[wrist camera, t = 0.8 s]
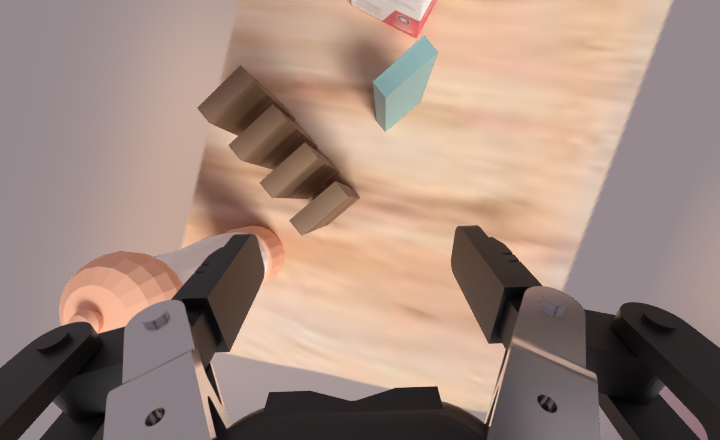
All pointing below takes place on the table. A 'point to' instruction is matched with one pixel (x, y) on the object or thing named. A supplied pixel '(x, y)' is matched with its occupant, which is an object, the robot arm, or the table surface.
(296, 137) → the walnut tile
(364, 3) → the ink cartridge box
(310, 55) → the table surface
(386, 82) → the teal tile
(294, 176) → the walnut tile
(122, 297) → the pepper shaker
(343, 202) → the walnut tile
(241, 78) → the walnut tile
